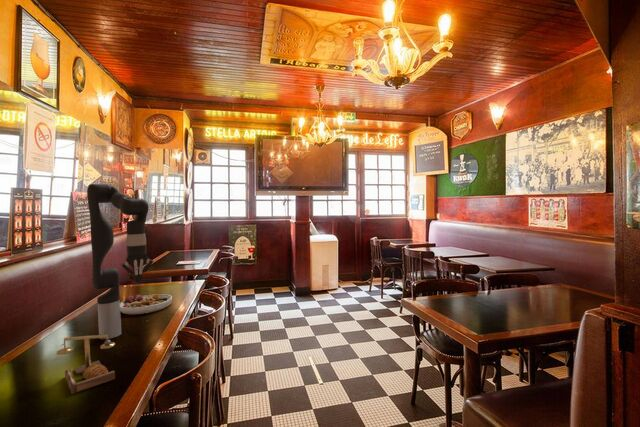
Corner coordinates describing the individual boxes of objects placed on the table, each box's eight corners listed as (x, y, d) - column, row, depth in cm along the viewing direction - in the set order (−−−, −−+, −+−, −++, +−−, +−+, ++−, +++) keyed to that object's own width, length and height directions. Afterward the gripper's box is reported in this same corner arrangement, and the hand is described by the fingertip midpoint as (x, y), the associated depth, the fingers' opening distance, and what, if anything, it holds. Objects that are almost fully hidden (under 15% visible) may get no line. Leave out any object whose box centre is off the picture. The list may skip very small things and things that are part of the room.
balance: (58, 381, 117) (56, 342, 116) (57, 375, 121) (54, 338, 121) (117, 362, 130) (115, 327, 129) (114, 358, 134) (112, 324, 134)
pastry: (114, 375, 120) (113, 365, 120) (94, 384, 114) (94, 374, 114) (99, 370, 124) (99, 360, 124) (80, 379, 118) (79, 369, 118)
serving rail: (65, 377, 120) (64, 369, 119) (105, 364, 128) (105, 356, 128) (71, 393, 108) (71, 384, 108) (115, 378, 117) (114, 370, 117)
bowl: (181, 301, 216) (181, 290, 216) (151, 316, 186) (150, 303, 186) (142, 301, 221) (141, 289, 221) (106, 315, 191) (105, 302, 191)
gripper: (150, 241, 149) (151, 278, 149) (117, 245, 140) (119, 284, 140) (155, 243, 143) (157, 281, 144) (121, 246, 134) (123, 287, 135)
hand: (138, 282), depth 142 cm, fingers closed
